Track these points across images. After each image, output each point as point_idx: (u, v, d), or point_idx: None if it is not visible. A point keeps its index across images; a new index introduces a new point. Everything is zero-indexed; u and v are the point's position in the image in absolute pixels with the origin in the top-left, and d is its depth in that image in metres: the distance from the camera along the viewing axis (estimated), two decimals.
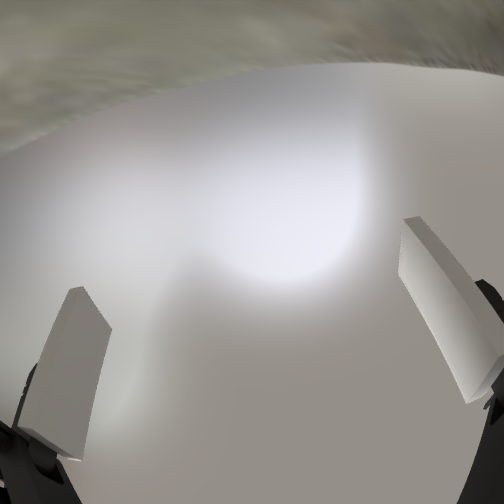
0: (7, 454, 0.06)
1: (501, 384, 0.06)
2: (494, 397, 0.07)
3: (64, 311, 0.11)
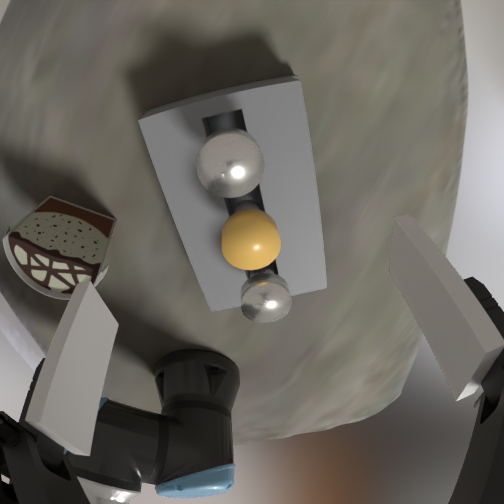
0: (14, 449, 0.06)
1: (490, 382, 0.07)
2: (484, 395, 0.07)
3: (72, 305, 0.11)
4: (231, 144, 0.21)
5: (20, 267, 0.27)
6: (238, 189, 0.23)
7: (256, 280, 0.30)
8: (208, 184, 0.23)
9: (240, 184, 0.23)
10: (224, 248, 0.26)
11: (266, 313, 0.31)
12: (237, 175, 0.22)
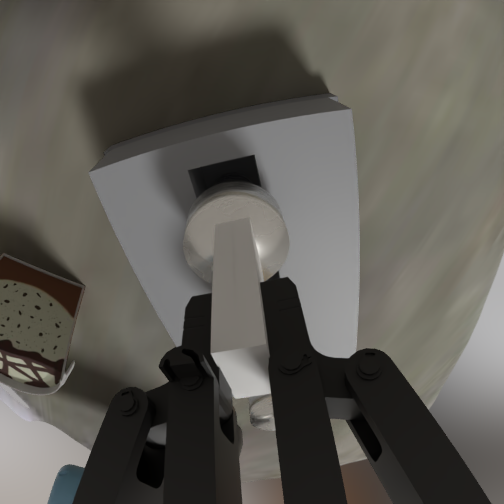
0: (188, 394, 0.07)
1: None
2: None
3: (222, 241, 0.12)
4: (238, 214, 0.13)
5: None
6: None
7: None
8: (202, 271, 0.15)
9: None
10: None
11: None
12: None
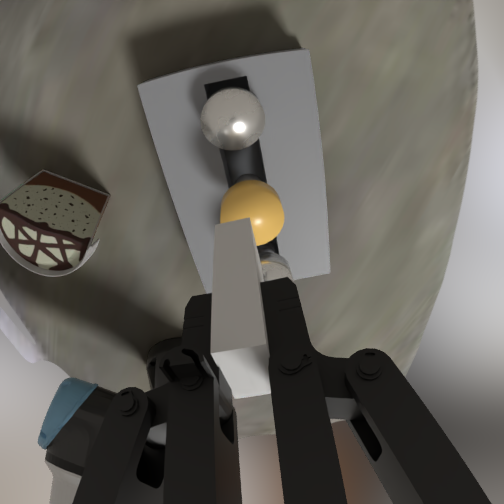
0: (188, 394, 0.07)
1: None
2: None
3: (222, 241, 0.12)
4: (234, 98, 0.21)
5: (7, 241, 0.25)
6: (239, 142, 0.23)
7: None
8: (211, 136, 0.23)
9: (241, 137, 0.23)
10: (223, 220, 0.24)
11: None
12: (239, 129, 0.23)
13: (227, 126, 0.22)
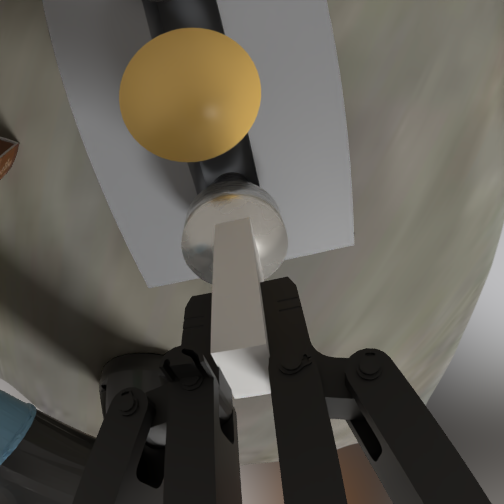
0: (188, 394, 0.07)
1: None
2: None
3: (222, 241, 0.12)
4: None
5: None
6: None
7: (212, 191, 0.14)
8: None
9: None
10: (125, 103, 0.09)
11: None
12: None
13: None
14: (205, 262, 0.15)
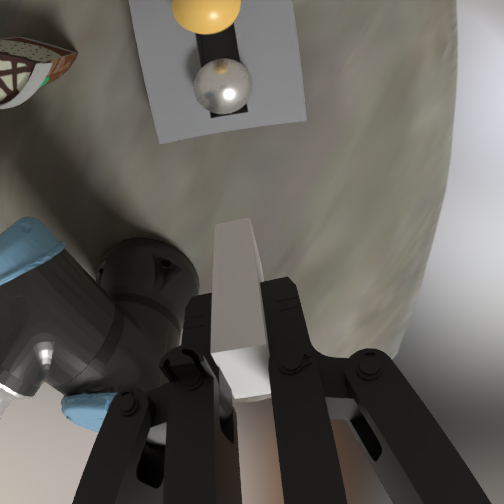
0: (188, 394, 0.07)
1: None
2: None
3: (222, 241, 0.12)
4: None
5: None
6: None
7: None
8: None
9: None
10: (175, 4, 0.17)
11: (222, 98, 0.24)
12: None
13: None
14: (205, 95, 0.24)
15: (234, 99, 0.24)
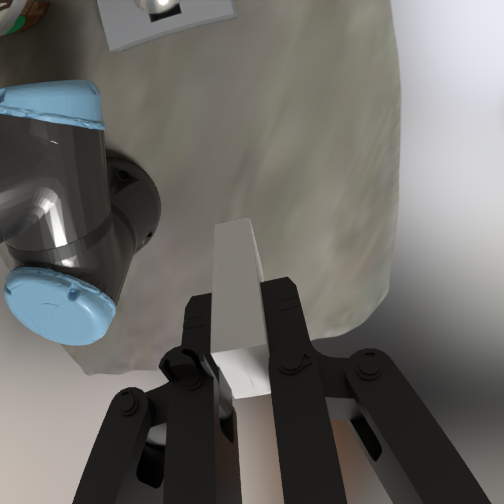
0: (188, 394, 0.07)
1: None
2: None
3: (222, 241, 0.12)
4: None
5: None
6: None
7: None
8: None
9: None
10: None
11: (155, 0, 0.23)
12: None
13: None
14: (142, 0, 0.22)
15: None
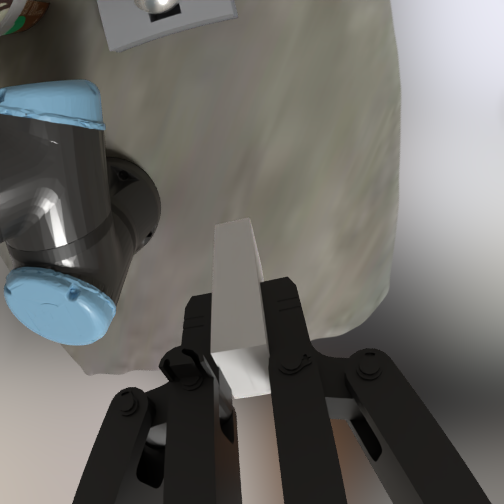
0: (188, 394, 0.07)
1: None
2: None
3: (222, 241, 0.12)
4: None
5: None
6: None
7: None
8: None
9: None
10: None
11: (155, 0, 0.23)
12: None
13: None
14: (142, 0, 0.22)
15: None
